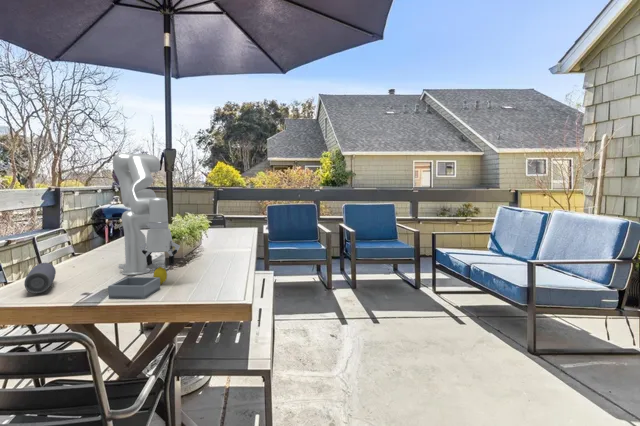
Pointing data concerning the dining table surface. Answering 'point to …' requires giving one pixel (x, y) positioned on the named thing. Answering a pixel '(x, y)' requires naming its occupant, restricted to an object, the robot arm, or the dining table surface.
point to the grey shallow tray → (134, 288)
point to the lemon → (160, 274)
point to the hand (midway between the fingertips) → (160, 264)
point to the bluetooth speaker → (40, 278)
